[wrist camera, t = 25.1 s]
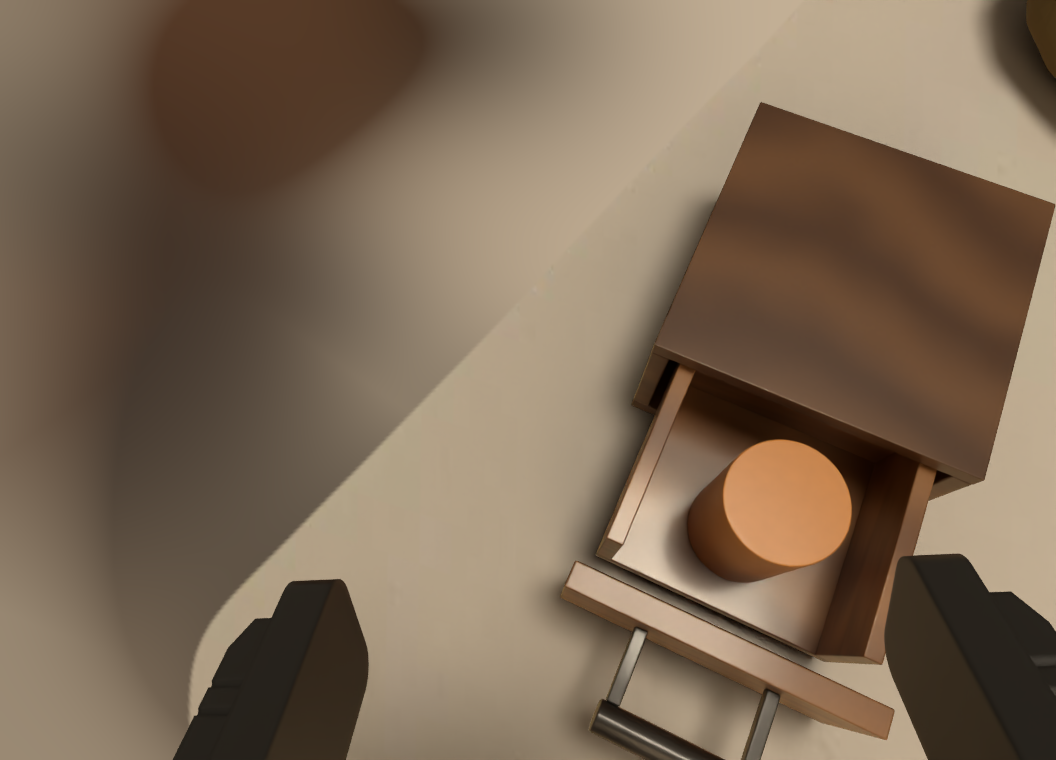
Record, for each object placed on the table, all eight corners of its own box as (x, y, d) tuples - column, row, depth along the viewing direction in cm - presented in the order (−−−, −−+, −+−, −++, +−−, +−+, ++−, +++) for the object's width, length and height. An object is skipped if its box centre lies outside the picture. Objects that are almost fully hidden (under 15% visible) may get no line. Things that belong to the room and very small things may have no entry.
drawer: (791, 826, 33) (852, 870, 27) (519, 689, 35) (515, 698, 29) (899, 467, 39) (971, 431, 32) (659, 367, 41) (681, 314, 34)
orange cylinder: (720, 601, 35) (765, 589, 28) (668, 504, 37) (698, 470, 30) (812, 554, 36) (878, 532, 29) (757, 461, 38) (807, 419, 31)
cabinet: (889, 516, 39) (984, 480, 31) (630, 405, 41) (653, 344, 33) (957, 288, 43) (1056, 204, 35) (720, 200, 46) (760, 101, 37)
